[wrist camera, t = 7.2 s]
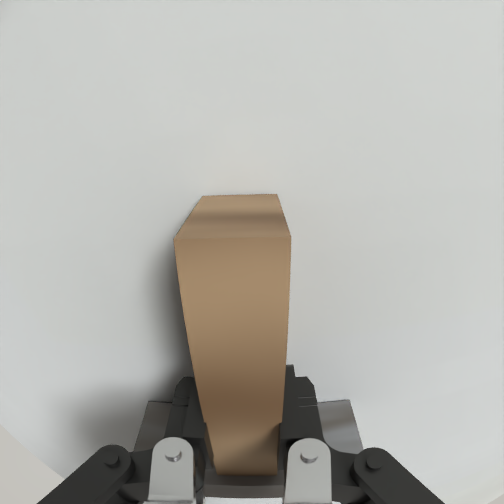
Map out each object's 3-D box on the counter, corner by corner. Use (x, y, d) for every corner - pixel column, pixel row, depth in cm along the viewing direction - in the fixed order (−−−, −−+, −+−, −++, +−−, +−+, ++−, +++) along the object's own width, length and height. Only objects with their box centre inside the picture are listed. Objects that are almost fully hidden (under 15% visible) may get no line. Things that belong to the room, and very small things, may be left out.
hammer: (98, 202, 10) (22, 252, 6) (386, 195, 10) (459, 243, 6) (155, 418, 15) (137, 487, 10) (344, 417, 14) (361, 487, 10)
